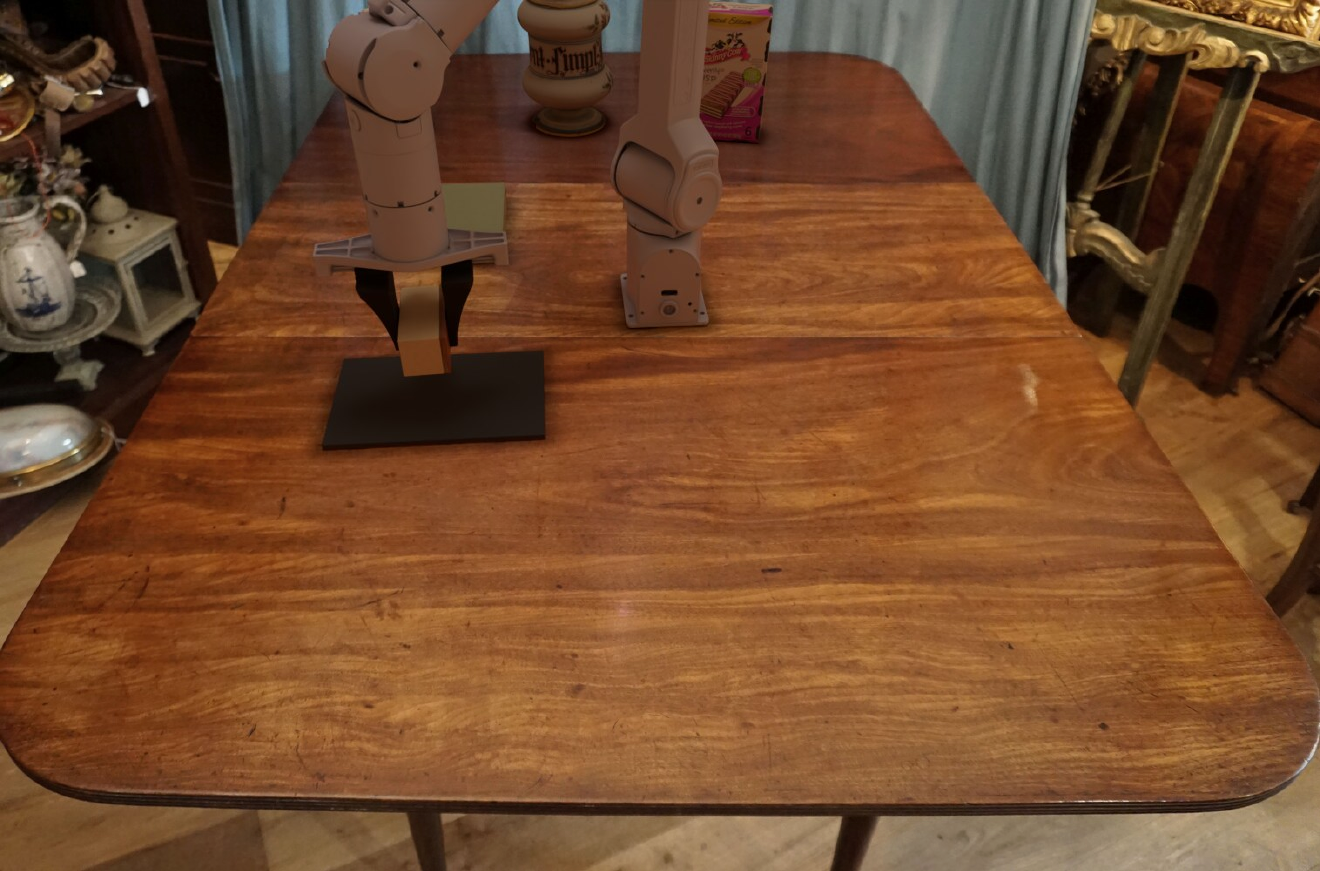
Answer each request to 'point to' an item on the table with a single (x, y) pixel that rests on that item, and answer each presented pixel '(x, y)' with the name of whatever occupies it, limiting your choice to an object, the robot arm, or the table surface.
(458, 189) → the sage rectangular block
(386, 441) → the felt mat
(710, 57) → the candy bar box
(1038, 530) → the table surface
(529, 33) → the apothecary jar
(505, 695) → the table surface
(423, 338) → the tan rectangular block
